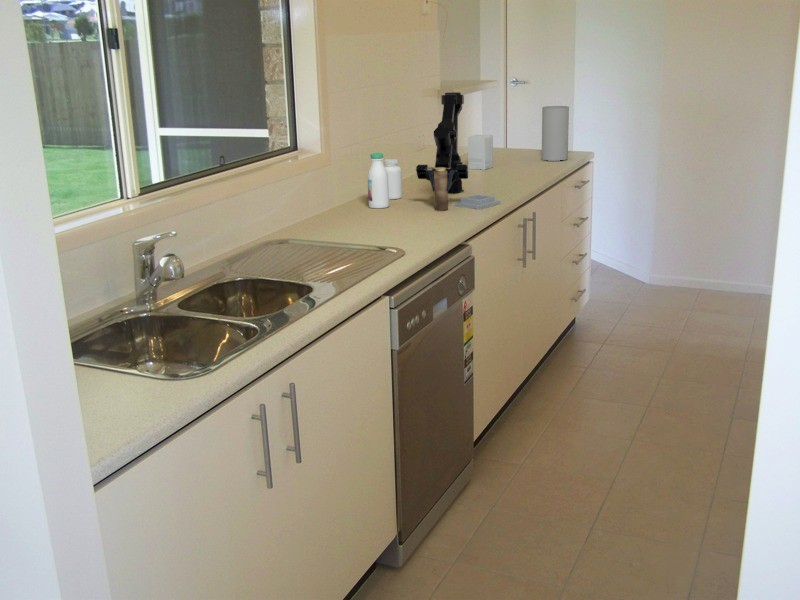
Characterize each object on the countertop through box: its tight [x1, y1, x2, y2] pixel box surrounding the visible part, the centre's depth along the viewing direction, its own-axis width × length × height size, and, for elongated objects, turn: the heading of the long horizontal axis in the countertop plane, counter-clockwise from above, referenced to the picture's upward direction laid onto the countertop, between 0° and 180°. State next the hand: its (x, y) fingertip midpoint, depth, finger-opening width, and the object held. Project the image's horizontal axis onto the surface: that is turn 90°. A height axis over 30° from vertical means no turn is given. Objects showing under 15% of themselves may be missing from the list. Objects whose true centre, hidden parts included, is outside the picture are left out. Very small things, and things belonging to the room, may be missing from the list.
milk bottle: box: [367, 152, 390, 209], centre depth 324 cm, size 8×8×20 cm
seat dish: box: [454, 193, 501, 210], centre depth 324 cm, size 12×12×3 cm
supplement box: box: [467, 134, 494, 171], centre depth 403 cm, size 9×9×15 cm
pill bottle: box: [383, 158, 403, 200], centre depth 341 cm, size 8×8×15 cm
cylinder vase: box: [541, 105, 570, 162], centre depth 418 cm, size 12×12×25 cm
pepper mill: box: [433, 167, 449, 212], centre depth 316 cm, size 5×5×15 cm
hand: (440, 190), depth 315 cm, fingers closed on pepper mill, 5 cm apart
